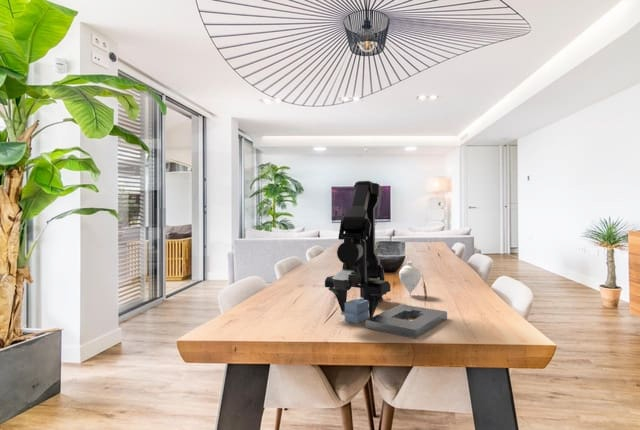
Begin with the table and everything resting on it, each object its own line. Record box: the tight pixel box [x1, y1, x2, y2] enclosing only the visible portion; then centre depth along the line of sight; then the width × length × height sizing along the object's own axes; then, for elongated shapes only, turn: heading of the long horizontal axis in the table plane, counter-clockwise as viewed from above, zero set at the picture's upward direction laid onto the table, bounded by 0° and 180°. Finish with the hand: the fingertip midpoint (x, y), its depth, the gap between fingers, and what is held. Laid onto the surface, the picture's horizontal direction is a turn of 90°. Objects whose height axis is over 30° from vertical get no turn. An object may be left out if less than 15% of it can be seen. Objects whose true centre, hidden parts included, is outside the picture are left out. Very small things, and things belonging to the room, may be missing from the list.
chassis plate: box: [365, 303, 448, 339], centre depth 99 cm, size 20×14×2 cm
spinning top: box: [398, 260, 422, 296], centre depth 132 cm, size 8×8×12 cm
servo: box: [340, 297, 370, 324], centre depth 103 cm, size 4×10×6 cm, turn 141°
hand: (356, 314), depth 103 cm, fingers open, 9 cm apart
